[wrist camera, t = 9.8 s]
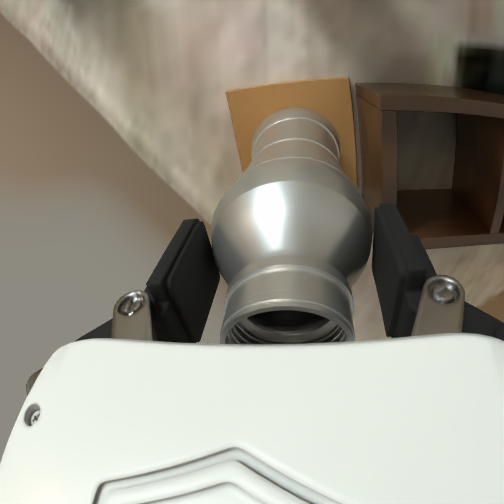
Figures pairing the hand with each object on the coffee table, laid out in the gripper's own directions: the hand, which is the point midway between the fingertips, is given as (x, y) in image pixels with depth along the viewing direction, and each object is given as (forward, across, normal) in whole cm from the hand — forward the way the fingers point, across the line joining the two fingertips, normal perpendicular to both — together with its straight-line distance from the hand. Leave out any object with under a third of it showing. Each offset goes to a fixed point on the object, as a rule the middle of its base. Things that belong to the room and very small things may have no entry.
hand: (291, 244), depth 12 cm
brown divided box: (+16, -16, +1) cm, 22 cm away
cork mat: (+16, 0, 0) cm, 16 cm away
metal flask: (+15, 0, 0) cm, 15 cm away
